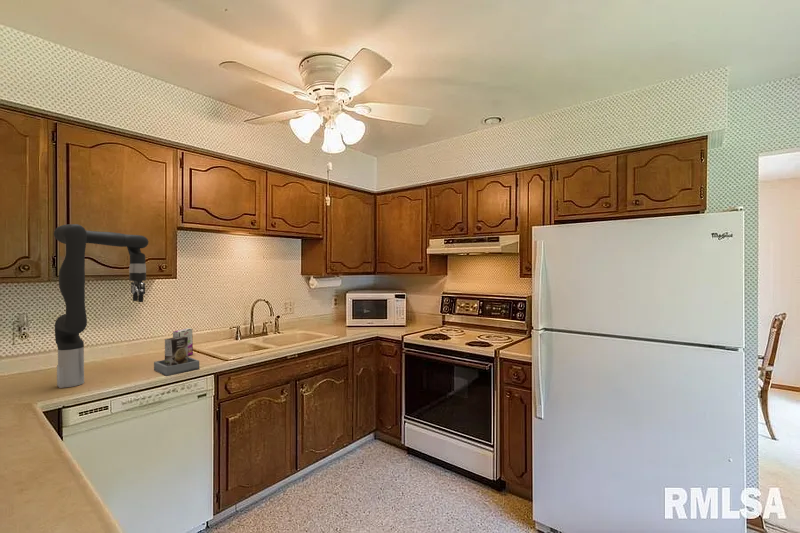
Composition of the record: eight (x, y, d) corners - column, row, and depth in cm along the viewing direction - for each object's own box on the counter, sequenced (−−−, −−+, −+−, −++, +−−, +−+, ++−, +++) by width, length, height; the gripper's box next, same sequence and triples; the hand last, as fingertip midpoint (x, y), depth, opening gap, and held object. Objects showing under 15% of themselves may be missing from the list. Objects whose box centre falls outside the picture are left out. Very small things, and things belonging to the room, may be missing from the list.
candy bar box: (186, 354, 235) (185, 328, 235) (193, 354, 234) (192, 328, 234) (172, 358, 224) (172, 331, 224) (180, 359, 223) (179, 331, 223)
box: (166, 376, 189) (166, 367, 189) (153, 370, 200) (153, 361, 200) (199, 369, 202) (199, 360, 201) (186, 363, 212) (186, 355, 212)
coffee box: (173, 370, 195) (172, 339, 195) (164, 369, 197) (163, 339, 197) (188, 366, 204) (188, 336, 203) (179, 365, 206) (179, 335, 206)
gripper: (125, 272, 207) (125, 301, 207) (134, 272, 198) (134, 303, 198) (141, 271, 213) (141, 300, 213) (150, 272, 204) (150, 301, 204)
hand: (138, 301), depth 205 cm, fingers open, 8 cm apart
